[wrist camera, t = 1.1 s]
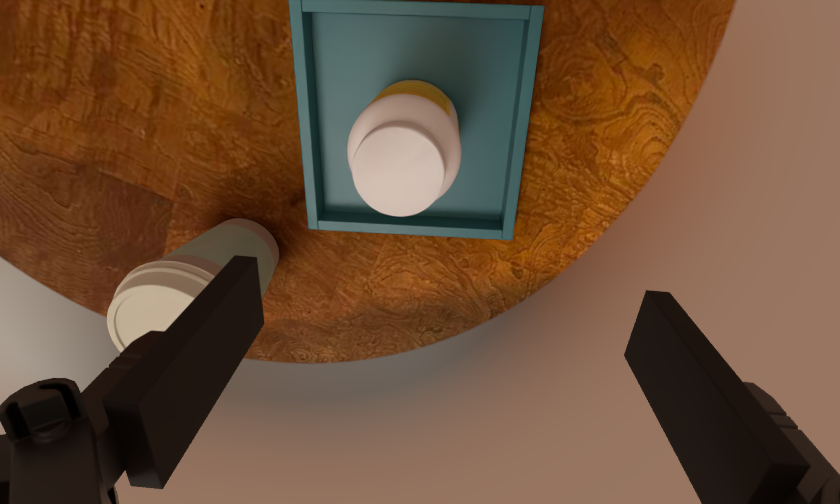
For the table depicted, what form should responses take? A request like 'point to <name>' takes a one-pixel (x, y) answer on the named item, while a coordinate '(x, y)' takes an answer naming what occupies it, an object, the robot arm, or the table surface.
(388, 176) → the pill bottle
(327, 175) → the tray
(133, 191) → the table surface
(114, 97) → the table surface
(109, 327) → the coffee cup
